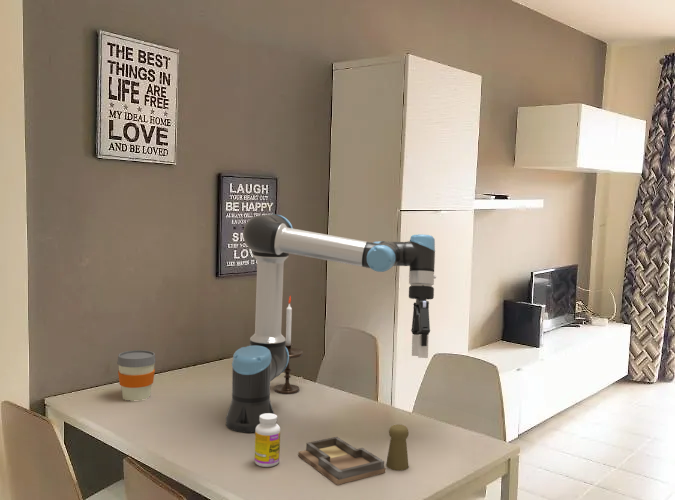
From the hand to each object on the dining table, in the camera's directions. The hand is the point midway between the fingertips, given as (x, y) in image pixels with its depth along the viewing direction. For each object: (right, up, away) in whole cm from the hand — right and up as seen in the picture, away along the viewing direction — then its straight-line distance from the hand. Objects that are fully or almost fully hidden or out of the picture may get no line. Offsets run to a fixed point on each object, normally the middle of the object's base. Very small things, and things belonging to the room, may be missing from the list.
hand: (419, 357), depth 193 cm
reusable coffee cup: (-94, -19, +29) cm, 100 cm away
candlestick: (-43, -19, +43) cm, 64 cm away
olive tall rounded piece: (-8, -26, -19) cm, 34 cm away
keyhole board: (-24, -26, -19) cm, 40 cm away
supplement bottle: (-43, -25, -20) cm, 54 cm away
